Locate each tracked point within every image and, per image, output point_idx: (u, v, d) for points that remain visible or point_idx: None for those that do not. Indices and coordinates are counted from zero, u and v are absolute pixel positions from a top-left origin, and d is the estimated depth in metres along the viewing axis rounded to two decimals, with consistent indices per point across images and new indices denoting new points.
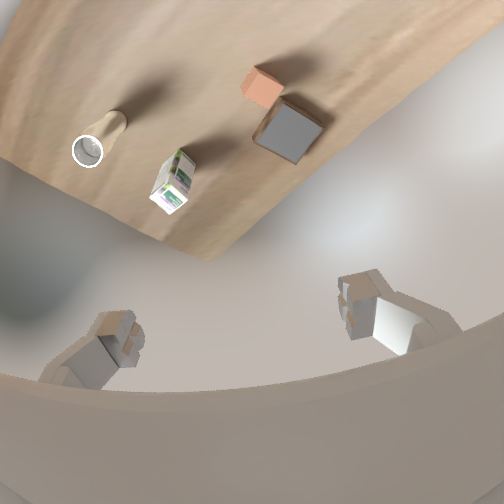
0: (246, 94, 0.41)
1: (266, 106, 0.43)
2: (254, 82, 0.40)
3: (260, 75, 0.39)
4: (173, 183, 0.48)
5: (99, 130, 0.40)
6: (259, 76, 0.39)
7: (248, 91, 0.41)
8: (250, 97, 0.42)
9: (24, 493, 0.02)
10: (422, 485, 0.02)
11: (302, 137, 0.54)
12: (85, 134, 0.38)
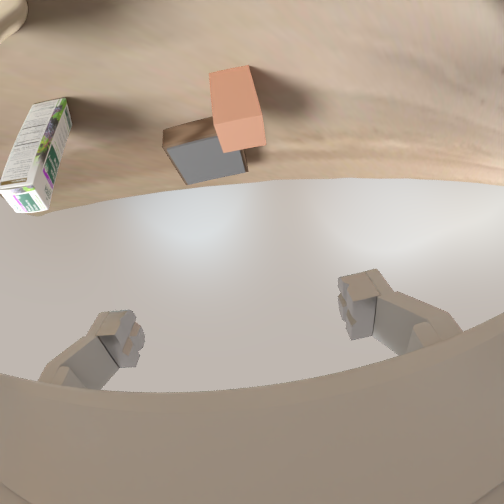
0: (219, 125, 0.26)
1: (224, 149, 0.30)
2: (244, 120, 0.26)
3: (260, 118, 0.26)
4: (37, 186, 0.22)
5: None
6: (257, 118, 0.26)
7: (225, 123, 0.26)
8: (219, 131, 0.27)
9: (24, 493, 0.02)
10: (422, 485, 0.02)
11: (217, 169, 0.43)
12: None
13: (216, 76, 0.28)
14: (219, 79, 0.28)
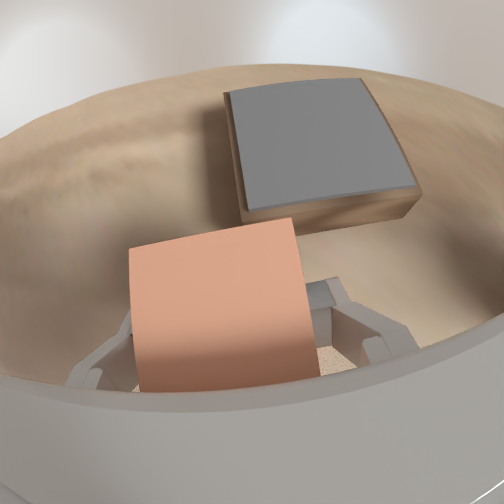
0: None
1: (285, 239, 0.08)
2: None
3: None
4: None
5: None
6: None
7: None
8: (302, 360, 0.07)
9: (24, 493, 0.02)
10: (422, 485, 0.02)
11: (294, 103, 0.17)
12: None
13: None
14: None
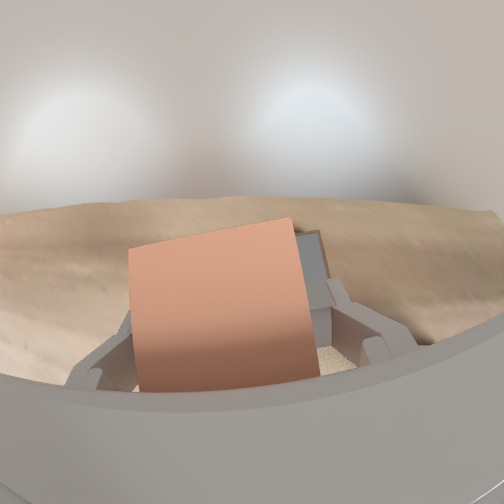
0: None
1: (284, 239, 0.07)
2: None
3: None
4: None
5: None
6: None
7: None
8: (302, 361, 0.07)
9: (24, 493, 0.02)
10: (422, 485, 0.02)
11: None
12: None
13: None
14: None
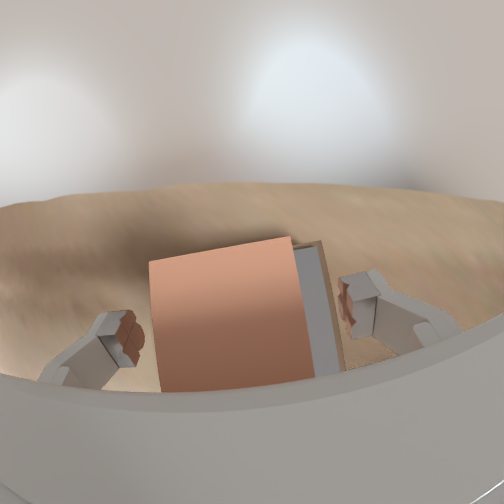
0: None
1: (284, 255, 0.09)
2: None
3: (168, 390, 0.08)
4: None
5: None
6: (175, 391, 0.08)
7: None
8: (299, 357, 0.08)
9: (24, 493, 0.02)
10: (422, 485, 0.02)
11: None
12: None
13: None
14: None
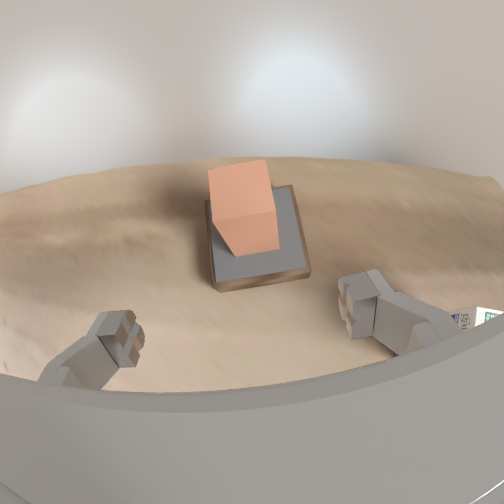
0: (268, 208, 0.21)
1: (262, 165, 0.23)
2: (235, 214, 0.22)
3: (215, 216, 0.22)
4: None
5: None
6: (218, 216, 0.22)
7: (260, 209, 0.21)
8: (268, 198, 0.22)
9: (24, 493, 0.02)
10: (422, 485, 0.02)
11: None
12: None
13: (271, 247, 0.30)
14: (267, 245, 0.29)
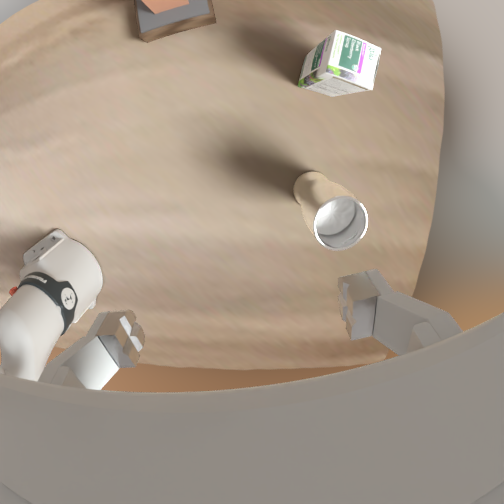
0: None
1: None
2: None
3: None
4: (325, 63, 0.22)
5: (306, 216, 0.32)
6: None
7: None
8: None
9: (24, 493, 0.02)
10: (422, 485, 0.02)
11: None
12: (316, 238, 0.30)
13: (181, 2, 0.24)
14: (177, 1, 0.24)
